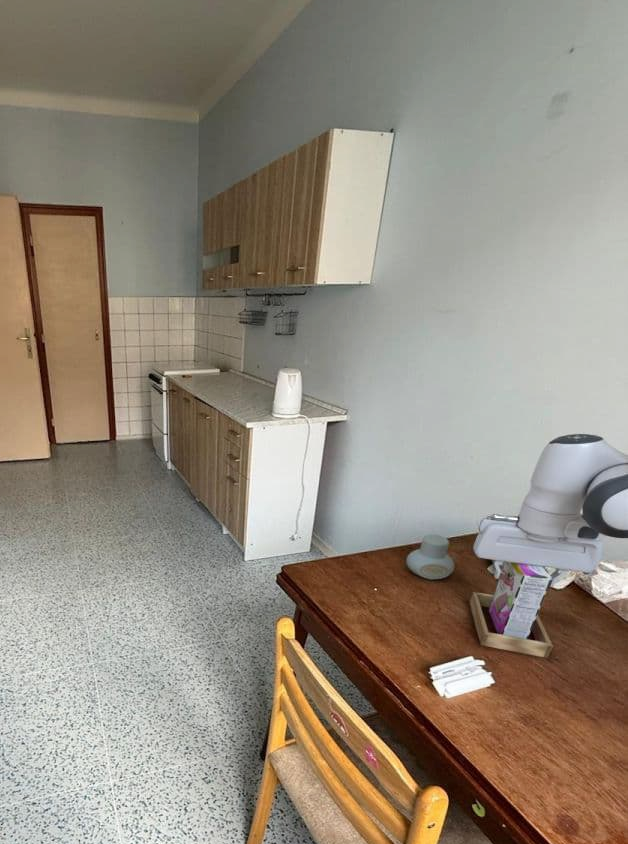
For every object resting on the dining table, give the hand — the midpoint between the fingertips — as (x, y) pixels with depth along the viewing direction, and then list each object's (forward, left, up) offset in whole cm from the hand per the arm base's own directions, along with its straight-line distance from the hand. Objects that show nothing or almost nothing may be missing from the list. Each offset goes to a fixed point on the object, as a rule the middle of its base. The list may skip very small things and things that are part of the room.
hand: (522, 581), depth 96 cm
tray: (0, 0, -12) cm, 12 cm away
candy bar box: (0, 0, -12) cm, 12 cm away
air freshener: (+14, -19, -12) cm, 27 cm away
